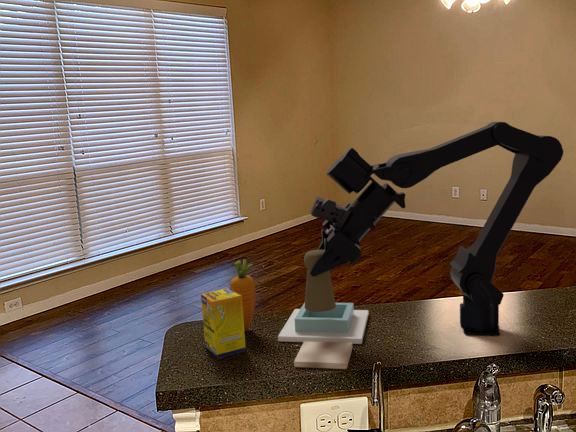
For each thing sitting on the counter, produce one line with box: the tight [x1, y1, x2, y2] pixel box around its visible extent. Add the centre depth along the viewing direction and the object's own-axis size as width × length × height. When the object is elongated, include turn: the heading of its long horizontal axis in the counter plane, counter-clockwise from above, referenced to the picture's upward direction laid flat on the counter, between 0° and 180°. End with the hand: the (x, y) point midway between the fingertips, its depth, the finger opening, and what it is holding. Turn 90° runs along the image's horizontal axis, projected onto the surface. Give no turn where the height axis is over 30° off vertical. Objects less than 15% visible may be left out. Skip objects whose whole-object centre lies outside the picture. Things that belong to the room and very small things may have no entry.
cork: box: [303, 249, 336, 312], centre depth 109 cm, size 6×6×11 cm
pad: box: [293, 341, 353, 370], centre depth 101 cm, size 9×9×1 cm
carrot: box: [229, 259, 256, 332], centre depth 115 cm, size 5×5×15 cm
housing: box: [277, 301, 370, 345], centre depth 116 cm, size 16×16×4 cm
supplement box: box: [200, 287, 247, 360], centre depth 106 cm, size 6×6×11 cm
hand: (311, 271), depth 108 cm, fingers closed on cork, 5 cm apart
